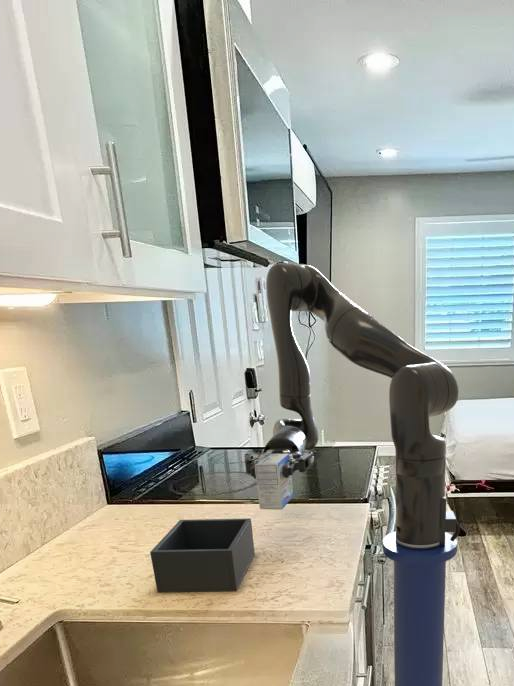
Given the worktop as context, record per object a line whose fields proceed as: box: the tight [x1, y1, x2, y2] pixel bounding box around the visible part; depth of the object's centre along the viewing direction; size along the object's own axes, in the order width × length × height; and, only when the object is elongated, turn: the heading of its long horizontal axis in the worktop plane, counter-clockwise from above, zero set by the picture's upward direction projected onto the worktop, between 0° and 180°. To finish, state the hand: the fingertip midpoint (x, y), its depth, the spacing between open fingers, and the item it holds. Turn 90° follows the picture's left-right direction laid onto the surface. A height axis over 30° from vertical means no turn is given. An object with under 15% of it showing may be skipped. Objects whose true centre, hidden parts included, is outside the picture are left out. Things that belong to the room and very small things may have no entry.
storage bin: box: [149, 518, 256, 594], centre depth 103 cm, size 14×16×8 cm
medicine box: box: [255, 454, 294, 511], centre depth 106 cm, size 8×4×9 cm, turn 172°
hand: (270, 472), depth 103 cm, fingers closed on medicine box, 5 cm apart
